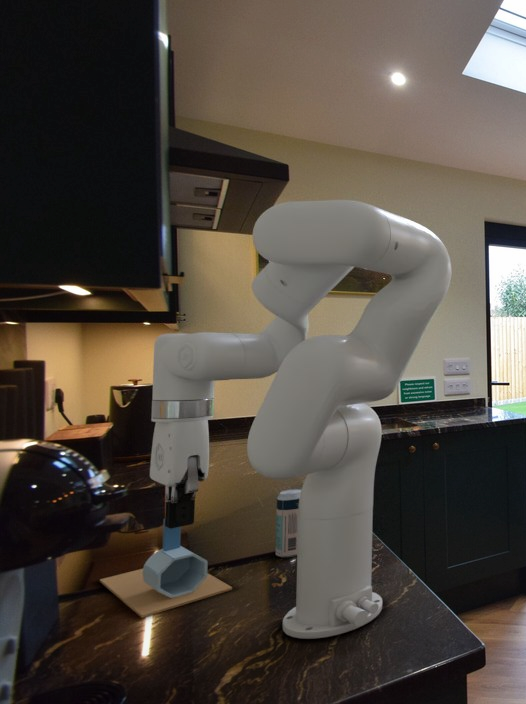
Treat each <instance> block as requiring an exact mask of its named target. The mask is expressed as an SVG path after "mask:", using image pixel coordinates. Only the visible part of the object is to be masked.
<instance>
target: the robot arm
mask: <svg viewBox="0 0 526 704" xmlns="http://www.w3.org/2000/svg"><path fill="white" fill-rule="evenodd" d="M251 236H252V244H253V246H254V248H255V251H256V252H257V253H258V254H259V255H260V256H261V257H262V258H263V259H265V260H267V261H269V262H268V263H267V264H266V265H265V266H264V267H263V269H261V270H260V271H259V273H257V274H256V275H255V276H254V277H253V279H252V282H251V291H252V293H253V295H254V298H255V299H256V300H257V301H258V303H260V305H262V307H264V309H266V310H267V311H269V312H270V313H271V314H273V315H274V316H275V317H274V318H273V319H272V320H271V321H270V322H269V324H268V325H267V326H265V328H263V330H261V331H259V333H245V332H244V333H243V332H217V331H201V332H193V333H164V334H160V335H158V336H157V337H156V338H155V340H154V345H153V368H152V369H153V370H152V398H151V399H152V400H151V419H150V421H151V422H153V423H155V424H154V430H153V436H152V445H151V454H150V465H149V478H150V479H151V480H153V481H154V482H156V483H158V484H160V485H161V484H162V485H163V486H165V500H166V501H165V512H164V519H165V526H166V527H168V528H170V529H172V528H177V527H181V528H182V527H185V526H191V525H193V524H194V523H195V508H196V495H197V492H199V482H200V483H202V482H205V480H207V479H208V478H209V477H208V476H209V470H210V436H209V435H210V432H209V421H208V420H212V419H214V417H215V416H214V414H215V387H216V381H218V382H219V381H230V380H255V379H256V380H257V379H263V378H268V377H270V376H272V375H274V374H275V375H274V377H273V380H272V381H271V384H270V386H269V388H268V390H267V392H266V394H265V396H264V398H263V400H262V402H261V404H260V407H259V408H258V410H257V412H256V415H255V417H254V419H253V421H252V424H251V426H250V429H249V433H248V438H247V443H246V453H247V458H248V461H249V463H250V465H251V467H252V468H253V470H254V471H255V472H256V473H258V475H260V476H263V477H265V478H266V479H267V478H268V479H271V480H290V479H294V478H299V477H302V476H306V477H305V479H304V481H303V484H302V487H301V489H302V490H301V494H300V498H299V511H298V546H297V556H296V593H295V594H296V597H295V606H294V607H293V608H292V609H290V610H289V611H288V612H287V613H286V614H285V615H284V617H283V618H282V631H283V632H284V634H285V635H287V636H288V637H289V636H290V637H292V638H295V639H303V640H315V639H322V638H329V637H335V636H339V635H343V634H345V633H348V632H351V631H354V630H356V629H359V628H360V627H361V628H362V627H363V626H365V625H367V624H368V623H370V622H372V621H373V620H374V619H376V618H377V617H378V616H379V615H380V613H381V611H382V609H383V598H382V596H381V595H380V594H378V593H376V592H373V586H372V575H373V574H372V572H373V571H372V568H373V566H372V565H373V563H372V562H373V518H374V517H373V516H374V512H373V511H374V489H375V488H374V487H375V475H376V474H375V473H376V468H377V467H376V466H377V461H378V457H379V452H380V448H381V442H382V435H383V434H382V433H383V431H382V424H381V420H380V418H379V415H378V414H377V412H376V411H375V410H374V409H373V408H372V407H371V406H369V405H367V404H368V403H373V402H379V401H382V400H384V399H387V398H388V397H390V396H391V395H392V394H393V393H394V392H395V390H396V389H397V388H398V386H399V384H400V383H401V380H402V379H403V376H404V375H405V373H406V370H407V368H408V366H409V365H410V363H411V361H412V358H413V357H414V354H415V353H416V350H417V349H418V347H419V345H420V343H421V341H422V339H423V336H424V334H425V332H426V330H427V328H428V326H429V325H430V324H431V321H432V320H433V318H434V317H435V315H436V313H437V311H438V310H439V308H440V307H441V305H442V303H443V301H444V299H445V298H446V295H447V293H448V291H449V288H450V284H451V280H452V262H451V257H450V255H449V251H448V249H447V247H446V246H445V244H444V242H443V241H442V240H441V239H440V238H439V236H438V235H437V234H435V232H433V231H431V230H430V229H429V228H427V227H426V226H424V225H422V224H420V223H418V222H416V221H414V220H412V219H409V218H406V217H404V216H401V215H399V214H396V213H393V212H390V211H387V210H386V209H382V208H380V207H378V206H375V205H373V204H370V203H366V202H363V201H359V200H352V199H326V200H302V201H301V200H299V201H298V200H297V201H286V202H281V203H278V204H275V205H273V206H271V207H269V208H268V209H266V210H265V211H263V212H262V213H261V214H260V215H259V217H258V218H257V220H256V221H255V223H254V226H253V229H252V235H251ZM354 268H358V269H363V270H367V271H372V272H377V273H380V274H385V275H390V277H391V280H390V281H389V282H388V283H387V284H386V285H385V286H384V287H382V288H381V289H379V291H377V293H375V294H374V295H373V296H372V297H371V299H370V300H369V301H368V303H367V304H366V306H365V307H364V310H363V312H362V314H361V317H360V319H359V320H358V321H357V324H356V325H355V327H354V328H353V330H352V331H351V332H350V333H348V334H346V335H339V334H337V335H335V334H321V335H315V336H311V337H308V333H309V328H310V319H309V313H310V312H311V311H312V310H313V309H314V308H315V307H317V305H318V304H319V303H320V302H321V301H322V300H323V299H324V298H325V297H326V296H327V295H328V294H329V293H330V292H331V291H332V290H333V289H334V288H335V287H336V286H337V285H338V284H340V282H341V281H343V279H344V278H346V276H347V275H348V274H349V273H350V272H351V271H352V270H353V269H354ZM307 337H308V338H307Z"/></svg>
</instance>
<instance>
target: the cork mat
mask: <svg viewBox="0 0 526 704" xmlns="http://www.w3.org/2000/svg"><path fill="white" fill-rule="evenodd" d="M99 583H101V584H102V585H103V586H104V587H105V588H106V589H107V590H109V591H110V592H111V593H112V594H113V595H114V596H115V597H117V599H119V600H120V601H121V602H122V603H123V604H125V605H126V606H127V607H129V609H131V610H132V611H133V612H134V613H136V615H138V616H139V617H140V618H141V619H143V618H147V617H149V616H152V615H155V614H159V613H162V612H165V611H168V610H173V609H175V608H178V607H181V606H185V605H189V604H191V603H194V602H198V601H201V600H205V599H207V598H211V597H213V596H217V595H221V594H224V593H226V592H229V591H232V590H233V587H232V586H231V585H229V584H228V583H226V582H224V581H222V580H221V579H218V578H217V577H215V576H214V575H212V574H210V573H209V572H207V578H206V579H205V580H204V581H203V582H202V583H201V584H200V585H199V586H198V587H197V588H196V590H195V591H194V592H192V593H189V594H186V595H183V596H179V597H176V598H170V597H168V596H165V595H163V594H161V593H159V592H157V591H156V590H155V589H153V588H152V587H151V586H149V585H148V584H147V583H145V582H144V581H143V568H139V569H136V570H132V571H128V572H124V573H120V574H117V575H112V576H108V577H103V578H100V579H99Z"/></svg>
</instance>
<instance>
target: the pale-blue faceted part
mask: <svg viewBox="0 0 526 704" xmlns="http://www.w3.org/2000/svg"><path fill="white" fill-rule="evenodd" d="M162 522H163V523H162V548H161V549H159V550H157V551H156V552H154V553H153V554H152V555H151V556H150V557H148V559H147V560H146V561H145V563H144V565H143V568H142V569H143V581H144V582H145V583H147V584H148V585H149V586H151V587H152V588H153V589H155V590H156V591H157V592H159V593H161V594H163V595H165V596H168V597H170V598H176V597H179V596H183V595H186V594H189V593H192V592H194V591H195V590H196V588H197V587H198V586H199V585H200V584H201V583H202V582H203V581H204V580H205V579H206V578H207V573H208V564H209V563H208V560H207V559H205V558H203V557H202V556H199V555H198V554H196V553H194V552H192V551H190V550H189V549H188V548H185V547H184V546H181V533H182V532H181V531H182V527H177V528H172V529H170V528H168V527H166V526H165V518H163V520H162Z"/></svg>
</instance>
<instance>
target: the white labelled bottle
mask: <svg viewBox="0 0 526 704" xmlns="http://www.w3.org/2000/svg"><path fill="white" fill-rule="evenodd" d="M301 490H302V488H292V489H286V490H282V491H280V492H279V493H278V495H277V497H276V520H275V521H276V523H275V555H276V556H277V557H280V558H282V559H283V558H284V559H285V558H287V559H288V558H293V557H297V546H298V511H299V498H300V494H301Z"/></svg>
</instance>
